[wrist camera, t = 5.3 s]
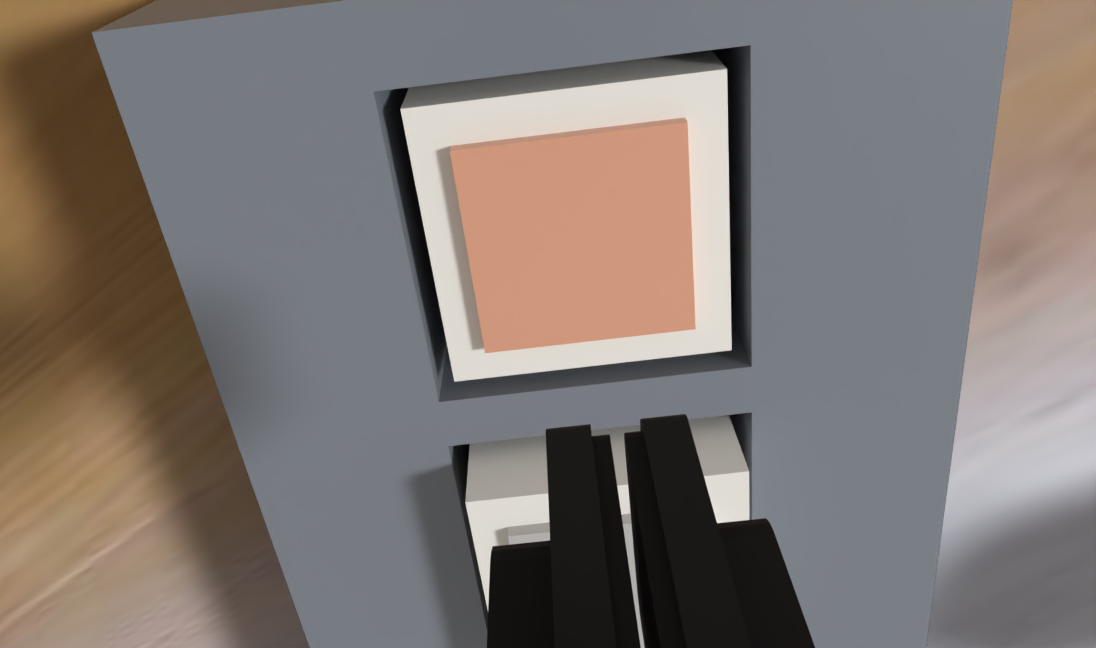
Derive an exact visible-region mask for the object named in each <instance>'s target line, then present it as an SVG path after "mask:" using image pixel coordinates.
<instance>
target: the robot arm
mask: <svg viewBox="0 0 1096 648" xmlns="http://www.w3.org/2000/svg"><path fill="white" fill-rule="evenodd" d="M624 443H625V455H626V467H627V478H628V490H629V501H630V513H631V525H632V536H633V548H634V559H635V571H636V583H637V594H638V603H639V612H640V620H641V627H642V633H643V640H644V647H645V648H815V646H814V643H813V640H812V637H811V634H810V632H809V629H808V626H807V623H806V620H805V618H804V615H803V612H802V609H801V606H800V603H799V601H798V598H797V595H796V592H795V589H794V587H793V584H792V581H791V578H790V575H789V573H788V570H787V567H786V564H785V561H784V558H783V556H782V553H781V550H780V547H779V544H778V542H777V539H776V536H775V533H774V531H773V529H772V526H771V524H770V522H769V521H768V520H767V519H766V518H763V519H753V520H743V521H734V522H724V523H717V521H716V518H715V514H714V511H713V507H712V504H711V500H710V496H709V493H708V489H707V486H706V482H705V478H704V475H703V471H702V468H701V464H700V461H699V457H698V453H697V450H696V446H695V443H694V439H693V436H692V432H691V428H690V425H689V421H688V418H687V416H686V414H680V415H671V416H662V417H652V418H643V419H640V431H636V432H627V433H624ZM546 453H547V477H548V501H549V525H550V540H549V541H540V542H530V543H520V544H511V545H501V546H493V547H492V550H491V558H490V579H489V604H488V629H487V648H641V646H640V639H639V632H638V625H637V618H636V611H635V605H634V598H633V591H632V584H631V577H630V570H629V563H628V556H627V550H626V543H625V536H624V529H623V522H622V515H621V508H620V502H619V495H618V488H617V481H616V474H615V467H614V460H613V453H612V447H611V440H610V434H608V435H598V436H592V434H591V425H590V424H587V425H578V426H568V427H559V428H549V429H546Z"/></svg>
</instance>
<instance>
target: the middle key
mask: <svg viewBox="0 0 1096 648" xmlns="http://www.w3.org/2000/svg"><path fill="white" fill-rule="evenodd" d="M688 421H689V425H690V428H691V432H692V436H693V439H694V443H695V446H696V450H697V453H698V457H699V461H700V464H701V468H702V471H703V475H704V478H705V482H706V486H707V489H708V493H709V496H710V500H711V504H712V507H713V511H714V514H715V518H716V521H717V523H724V522H734V521H743V520H749V469H748V467H747V464H746V461H745V458H744V455H743V453H742V450H741V447H740V444H739V441H738V439H737V436H736V433H735V430H734V427H733V425H732V422H731V419H730V416H729V415H724V416H715V417H706V418H697V419H688ZM636 431H640V425H634V426H625V427H616V428H607V429H598V430H591V434H592V436H598V435H608V434H610V440H611V447H612V453H613V460H614V467H615V474H616V481H617V488H618V495H619V502H620V508H621V515H622V522H623V529H624V536H625V543H626V550H627V556H628V563H629V570H630V577H631V584H632V591H633V598H634V605H635V611H636V618H637V625H638V632H639V639H640V646H641V648H645V647H644V640H643V633H642V627H641V620H640V612H639V603H638V594H637V583H636V571H635V559H634V548H633V536H632V525H631V513H630V501H629V490H628V478H627V467H626V455H625V443H624V433H627V432H636ZM465 503H466V508H467V513H468V518H469V523H470V527H471V532H472V537H473V542H474V547H475V551H476V556H477V561H478V566H479V571H480V576H481V580H482V585H483V590H484V595H485V600H486V604H487V609H488V604H489V579H490V558H491V550H492V547H493V546H501V545H511V544H520V543H530V542H540V541H549V540H550V525H549V501H548V477H547V453H546V435H544V436H535V437H526V438H517V439H508V440H499V441H490V442H481V443H472V444H470V447H469V460H468V474H467V487H466V500H465Z"/></svg>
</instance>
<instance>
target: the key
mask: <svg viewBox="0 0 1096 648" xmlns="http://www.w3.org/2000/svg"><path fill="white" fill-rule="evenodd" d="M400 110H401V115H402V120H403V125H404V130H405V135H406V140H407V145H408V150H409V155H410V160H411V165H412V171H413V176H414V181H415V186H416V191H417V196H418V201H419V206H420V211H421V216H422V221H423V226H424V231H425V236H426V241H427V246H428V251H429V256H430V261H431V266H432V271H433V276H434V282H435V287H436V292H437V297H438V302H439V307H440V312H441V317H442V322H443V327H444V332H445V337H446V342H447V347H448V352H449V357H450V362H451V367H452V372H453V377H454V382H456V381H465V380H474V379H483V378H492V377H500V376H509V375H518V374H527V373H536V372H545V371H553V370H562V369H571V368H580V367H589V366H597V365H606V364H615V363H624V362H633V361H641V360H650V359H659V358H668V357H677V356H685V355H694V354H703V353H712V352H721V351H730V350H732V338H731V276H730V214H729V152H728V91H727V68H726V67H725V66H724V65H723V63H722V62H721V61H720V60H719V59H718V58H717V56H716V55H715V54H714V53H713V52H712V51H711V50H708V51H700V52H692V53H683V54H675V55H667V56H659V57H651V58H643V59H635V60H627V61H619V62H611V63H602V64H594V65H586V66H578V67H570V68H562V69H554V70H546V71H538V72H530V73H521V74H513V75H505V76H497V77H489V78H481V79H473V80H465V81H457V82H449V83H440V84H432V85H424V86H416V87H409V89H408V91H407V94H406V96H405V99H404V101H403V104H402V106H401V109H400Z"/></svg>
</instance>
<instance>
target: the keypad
mask: <svg viewBox="0 0 1096 648" xmlns="http://www.w3.org/2000/svg"><path fill="white" fill-rule="evenodd" d="M1012 4H1013V0H156V1H154V2H152V3H150V4H148V5H146V6H144V7H142V8H140V9H138V10H136V11H134V12H132V13H130V14H128V15H126V16H124V17H122V18H120V19H118V20H116V21H114V22H112V23H110V24H107V25H105V26H103V27H101V28H99V29H97V30H95V31H93V32H91V33H92V36H93V38H94V41H95V44H96V47H97V50H98V53H99V55H100V58H101V61H102V64H103V67H104V69H105V72H106V75H107V78H108V81H109V84H110V86H111V89H112V92H113V95H114V98H115V100H116V103H117V106H118V109H119V112H120V115H121V117H122V120H123V123H124V126H125V129H126V131H127V134H128V137H129V140H130V143H131V146H132V148H133V151H134V154H135V157H136V160H137V162H138V165H139V168H140V171H141V174H142V177H143V179H144V182H145V185H146V188H147V191H148V194H149V196H150V199H151V202H152V205H153V208H154V210H155V213H156V216H157V219H158V222H159V225H160V227H161V230H162V233H163V236H164V239H165V241H166V244H167V247H168V250H169V253H170V256H171V258H172V261H173V264H174V267H175V270H176V272H177V275H178V278H179V281H180V284H181V287H182V289H183V292H184V295H185V298H186V301H187V303H188V306H189V309H190V312H191V315H192V318H193V320H194V323H195V326H196V329H197V332H198V334H199V337H200V340H201V343H202V346H203V349H204V351H205V354H206V357H207V360H208V363H209V365H210V368H211V371H212V374H213V377H214V380H215V382H216V385H217V388H218V391H219V394H220V396H221V399H222V402H223V405H224V408H225V411H226V413H227V416H228V419H229V422H230V425H231V427H232V430H233V433H234V436H235V439H236V442H237V444H238V447H239V450H240V453H241V456H242V459H243V461H244V464H245V467H246V470H247V473H248V475H249V478H250V481H251V484H252V487H253V490H254V492H255V495H256V498H257V501H258V504H259V506H260V509H261V512H262V515H263V518H264V521H265V523H266V526H267V529H268V532H269V535H270V537H271V540H272V543H273V546H274V549H275V552H276V554H277V557H278V560H279V563H280V566H281V568H282V571H283V574H284V577H285V580H286V583H287V585H288V588H289V591H290V594H291V597H292V599H293V602H294V605H295V608H296V611H297V614H298V616H299V619H300V622H301V625H302V628H303V630H304V633H305V636H306V639H307V642H308V645H309V647H310V648H487V629H488V609H487V604H486V600H485V595H484V590H483V585H482V580H481V576H480V571H479V566H478V561H477V556H476V551H475V547H474V542H473V537H472V532H471V527H470V523H469V518H468V513H467V508H466V503H465V500H466V487H467V474H468V460H469V447H470V444H472V443H481V442H490V441H499V440H508V439H517V438H526V437H535V436H544V435H546V429H549V428H559V427H568V426H578V425H587V424H590V425H591V430H598V429H607V428H616V427H625V426H634V425H640V419H643V418H652V417H662V416H671V415H680V414H686V416H687V418H688V419H697V418H706V417H715V416H724V415H729V416H730V419H731V422H732V425H733V427H734V430H735V433H736V436H737V439H738V441H739V444H740V447H741V450H742V453H743V455H744V458H745V461H746V464H747V467H748V469H749V520H753V519H763V518H766V519H767V520H768V521H769V522H770V524H771V526H772V529H773V531H774V533H775V536H776V539H777V542H778V544H779V547H780V550H781V553H782V556H783V558H784V561H785V564H786V567H787V570H788V573H789V575H790V578H791V581H792V584H793V587H794V589H795V592H796V595H797V598H798V601H799V603H800V606H801V609H802V612H803V615H804V618H805V620H806V623H807V626H808V629H809V632H810V634H811V637H812V640H813V643H814V646H815V648H926V645H927V637H928V630H929V622H930V615H931V608H932V600H933V593H934V585H935V578H936V570H937V563H938V555H939V548H940V540H941V533H942V526H943V518H944V511H945V503H946V496H947V488H948V481H949V473H950V466H951V458H952V451H953V444H954V436H955V429H956V421H957V414H958V406H959V399H960V391H961V384H962V376H963V369H964V362H965V354H966V347H967V339H968V332H969V324H970V317H971V309H972V302H973V294H974V287H975V280H976V272H977V265H978V257H979V250H980V242H981V235H982V227H983V220H984V212H985V205H986V198H987V190H988V183H989V175H990V168H991V160H992V153H993V145H994V138H995V130H996V123H997V116H998V108H999V101H1000V93H1001V86H1002V78H1003V71H1004V63H1005V56H1006V48H1007V41H1008V34H1009V26H1010V19H1011V11H1012ZM708 50H711V51H712V52H713V53H714V54H715V55H716V56H717V58H718V59H719V60H720V61H721V62H722V63H723V65H724V66H725V67H726V68H727V91H728V152H729V214H730V276H731V338H732V350H730V351H721V352H712V353H703V354H694V355H685V356H677V357H668V358H659V359H650V360H641V361H633V362H624V363H615V364H606V365H597V366H589V367H580V368H571V369H562V370H553V371H545V372H536V373H527V374H518V375H509V376H500V377H492V378H483V379H474V380H465V381H456V382H454V377H453V372H452V367H451V362H450V357H449V352H448V347H447V342H446V337H445V332H444V327H443V322H442V317H441V312H440V307H439V302H438V297H437V292H436V287H435V282H434V276H433V271H432V266H431V261H430V256H429V251H428V246H427V241H426V236H425V231H424V226H423V221H422V216H421V211H420V206H419V201H418V196H417V191H416V186H415V181H414V176H413V171H412V165H411V160H410V155H409V150H408V145H407V140H406V135H405V130H404V125H403V120H402V115H401V110H400V109H401V106H402V104H403V101H404V99H405V96H406V94H407V91H408V89H409V87H416V86H424V85H432V84H440V83H449V82H457V81H465V80H473V79H481V78H489V77H497V76H505V75H513V74H521V73H530V72H538V71H546V70H554V69H562V68H570V67H578V66H586V65H594V64H602V63H611V62H619V61H627V60H635V59H643V58H651V57H659V56H667V55H675V54H683V53H692V52H700V51H708Z"/></svg>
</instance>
